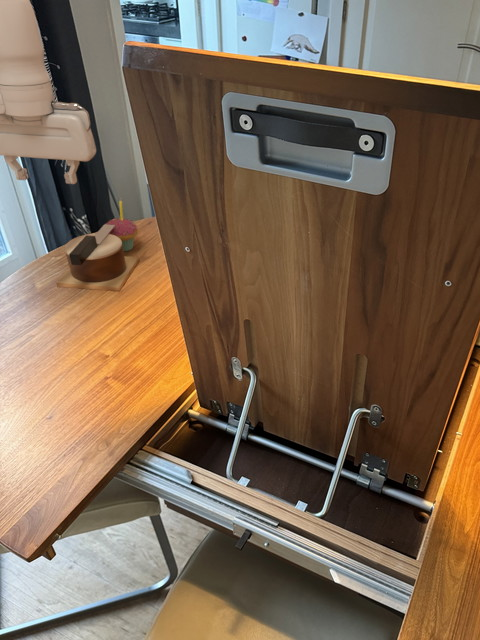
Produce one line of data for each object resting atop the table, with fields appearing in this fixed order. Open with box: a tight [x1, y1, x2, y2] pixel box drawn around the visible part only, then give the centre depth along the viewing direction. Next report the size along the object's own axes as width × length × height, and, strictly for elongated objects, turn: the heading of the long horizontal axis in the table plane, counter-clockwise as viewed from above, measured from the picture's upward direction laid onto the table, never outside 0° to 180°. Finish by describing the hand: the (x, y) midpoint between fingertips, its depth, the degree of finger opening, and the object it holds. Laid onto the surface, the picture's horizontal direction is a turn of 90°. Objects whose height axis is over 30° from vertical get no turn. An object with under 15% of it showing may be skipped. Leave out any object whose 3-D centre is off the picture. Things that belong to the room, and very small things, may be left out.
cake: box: [55, 232, 140, 292], centre depth 115 cm, size 14×14×7 cm
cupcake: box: [105, 197, 139, 253], centre depth 124 cm, size 9×8×12 cm
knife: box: [69, 223, 115, 265], centre depth 113 cm, size 20×3×2 cm, turn 174°
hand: (47, 181), depth 97 cm, fingers open, 8 cm apart
